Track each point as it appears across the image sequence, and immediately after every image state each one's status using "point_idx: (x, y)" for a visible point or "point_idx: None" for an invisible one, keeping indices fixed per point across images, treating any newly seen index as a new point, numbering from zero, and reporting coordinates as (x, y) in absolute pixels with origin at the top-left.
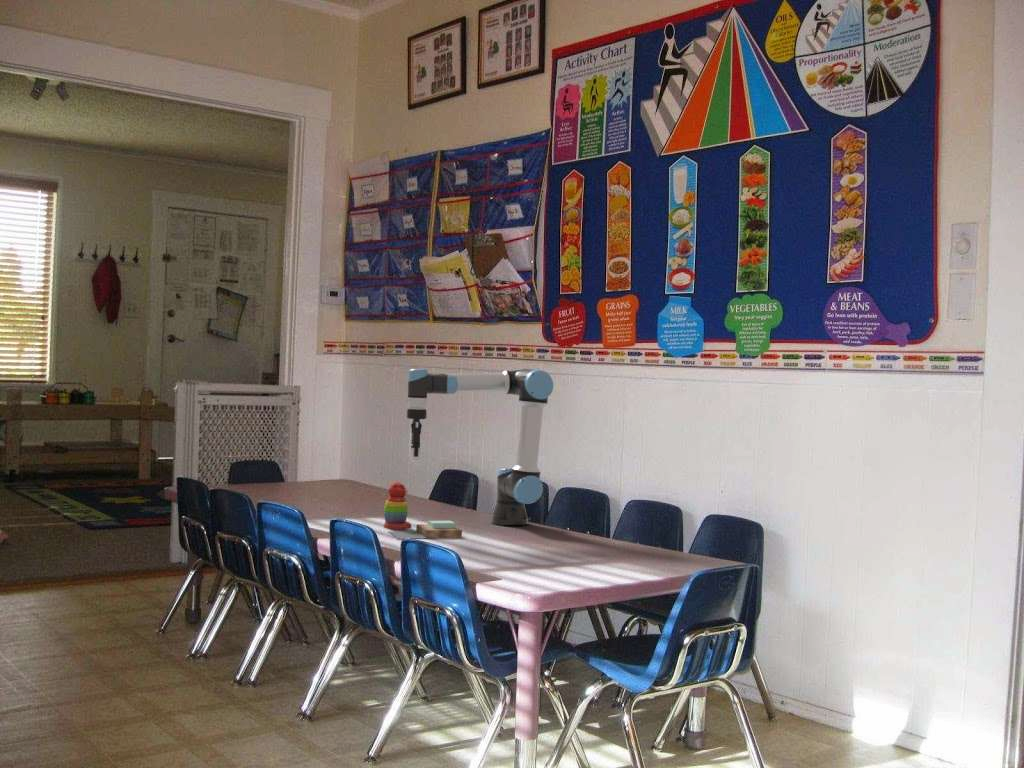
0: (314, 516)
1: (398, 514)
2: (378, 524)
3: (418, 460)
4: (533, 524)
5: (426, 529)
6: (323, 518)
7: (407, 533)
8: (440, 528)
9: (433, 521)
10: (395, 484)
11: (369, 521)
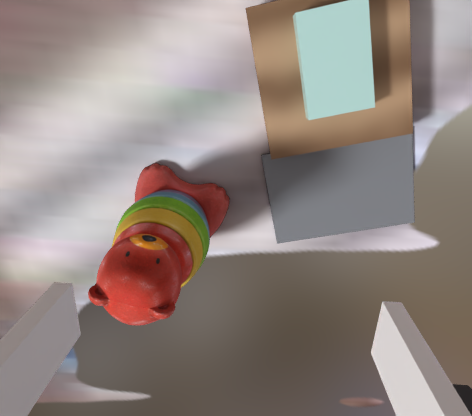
0: (38, 400)
1: (208, 229)
2: None
3: (419, 341)
4: None
5: (390, 131)
6: (64, 384)
7: (315, 186)
8: None
9: (325, 99)
10: (169, 313)
11: (79, 280)
